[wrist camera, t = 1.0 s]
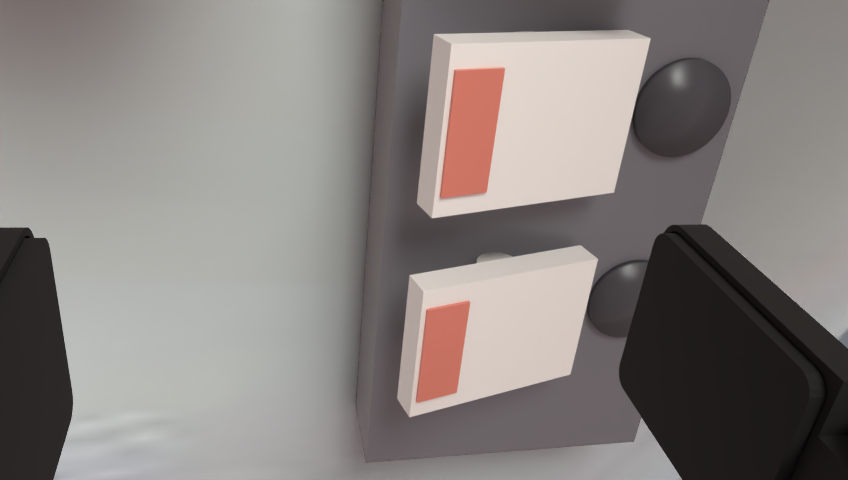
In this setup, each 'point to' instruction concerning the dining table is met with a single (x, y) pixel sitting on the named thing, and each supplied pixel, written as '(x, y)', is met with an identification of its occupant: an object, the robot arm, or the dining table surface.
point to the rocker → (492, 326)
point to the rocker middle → (526, 117)
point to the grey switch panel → (542, 213)
